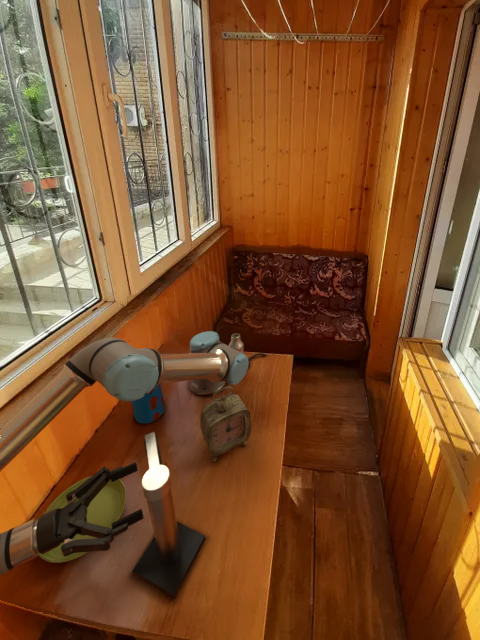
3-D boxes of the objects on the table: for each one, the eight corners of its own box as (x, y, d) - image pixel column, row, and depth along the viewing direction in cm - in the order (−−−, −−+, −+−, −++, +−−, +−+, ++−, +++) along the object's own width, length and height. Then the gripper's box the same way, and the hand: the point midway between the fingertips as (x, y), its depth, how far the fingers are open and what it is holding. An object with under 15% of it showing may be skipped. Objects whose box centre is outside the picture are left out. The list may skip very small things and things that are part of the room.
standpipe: (174, 599, 70) (160, 529, 61) (133, 574, 73) (114, 506, 65) (205, 539, 80) (197, 472, 72) (167, 520, 84) (155, 455, 76)
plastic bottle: (242, 380, 134) (240, 341, 127) (228, 377, 135) (225, 339, 128) (247, 370, 140) (245, 332, 133) (233, 368, 141) (231, 330, 134)
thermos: (130, 410, 118) (118, 356, 110) (158, 396, 125) (149, 344, 116) (139, 429, 111) (128, 372, 102) (169, 413, 117) (160, 358, 109)
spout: (182, 546, 74) (171, 482, 66) (157, 560, 71) (142, 495, 64) (170, 479, 88) (159, 420, 81) (148, 489, 86) (136, 429, 78)
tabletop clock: (210, 468, 98) (204, 407, 89) (201, 446, 105) (194, 387, 96) (251, 446, 105) (249, 387, 96) (240, 426, 112) (237, 370, 104)
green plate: (78, 477, 95) (76, 470, 93) (142, 485, 92) (141, 478, 91) (15, 563, 75) (11, 555, 74) (94, 576, 73) (91, 568, 72)
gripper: (50, 496, 83) (136, 459, 93) (34, 610, 63) (147, 547, 73) (43, 476, 81) (132, 440, 91) (24, 589, 60) (143, 527, 70)
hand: (139, 488), depth 82 cm, fingers open, 13 cm apart
